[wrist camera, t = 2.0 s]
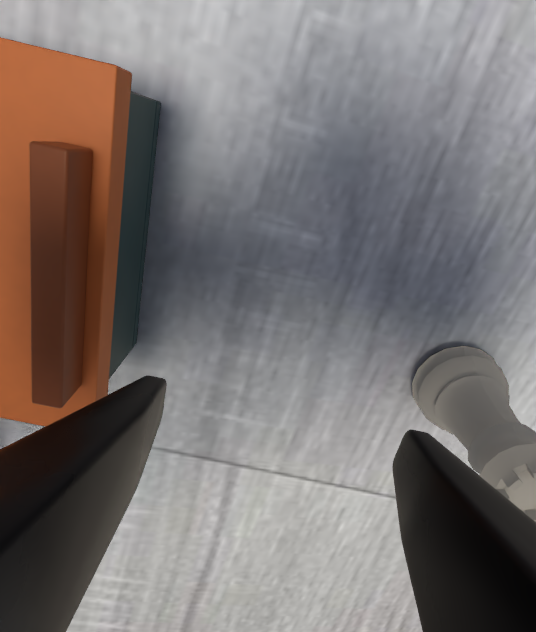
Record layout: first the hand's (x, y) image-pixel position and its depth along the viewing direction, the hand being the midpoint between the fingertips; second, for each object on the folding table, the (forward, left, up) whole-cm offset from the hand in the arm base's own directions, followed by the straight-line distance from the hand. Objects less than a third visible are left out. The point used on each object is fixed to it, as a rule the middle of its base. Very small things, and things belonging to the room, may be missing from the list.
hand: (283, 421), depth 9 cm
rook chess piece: (-4, -10, -12) cm, 16 cm away
